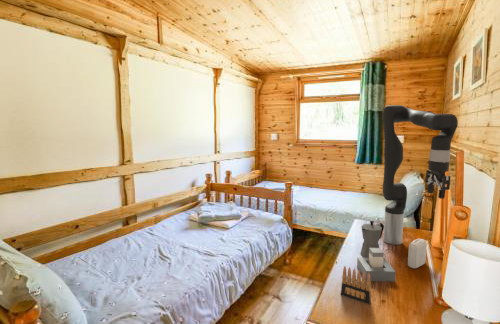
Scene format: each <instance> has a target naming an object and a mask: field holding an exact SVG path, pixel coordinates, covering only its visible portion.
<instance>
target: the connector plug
mask: <svg viewBox="0 0 500 324" xmlns="http://www.w3.org/2000/svg"><path fill="white" fill-rule="evenodd" d="M384 254H385V253H384V251H383V249H381V248H380V247H379V248H369V266H370V267H371V268H383V258H385V257H384V256H385V255H384Z"/></svg>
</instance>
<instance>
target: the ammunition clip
mask: <svg viewBox="0 0 500 324" xmlns="http://www.w3.org/2000/svg"><path fill="white" fill-rule="evenodd" d="M341 279H342V280H341V290H340V296H343V297H346V298H350V299H352V300H356V301H358V302H361V303H364V304H367V305H370V304H371V303H372V302H371V301H372V296H371V294H372V293H371V291H372V289H371V288H372V287H371V286H372V281H370V273H368V275H367V281H366V279H365V272H363V274H361V272H360V270H359V269H358V271H357V272H356V269H355V268H353V270H351V267H350V266H349V267H348V271H347V267H346V265H344V266H343V269H342V276H341Z"/></svg>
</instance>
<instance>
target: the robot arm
mask: <svg viewBox="0 0 500 324" xmlns="http://www.w3.org/2000/svg"><path fill="white" fill-rule="evenodd" d="M405 122H406V123H412V124H413V125H416V126H419V127H423V128H426V129H429V130H432V131H440V132H439V134H438V135H435V136H433V137H432V138H431V145H430V152H429V157H428V158H429V159H428V167H427V169H426V171H425V179H424V182H425V183H426V185H427V193H428V194H434V187H435V184H436V186H438V196H437V197H438V199H439V200H440V199H442V200H443V199H445V198H446V191H448V190H451V189H450V188H451V176H450V175H446V172H448V171H450V170H449V169H450V160H451V146H452V145H451V142H452V139H453V137H454V134H455V133H456V131H457V127H458V122H459V121H458V117H457V116H456V115H455V114H453V113H434V112H432V111H427V110H417V109H416V110H415V109H412V108H409V107H406V106H405V105H399V104H398V105H396V104H394V105H393V104H389V105H385V107H384V108H383V110H382V127H383V137H384V138H383V148H384V149H383V162H384V164H383V165H384V167H383V168H384V169H383V183H382V195H383V198H384V199H385V200H386V201H390V203H388V204H386V205H385V207H384V224H383V225H384V229H383V242H384V243H386V244H388V245H392V246H393V245H394V246H395V245H396V246H399V245H402V243H403V230H404V229H403V228H404V214H405V213H404V212H405V209H406V207H407V205H406V204H407V199H408V197H407V196H408V189H407V186H406V185H405V184H404V183H402V182H397V183H396V182H395V176H396V173H397V172H398V170H399V168H400V166H401V164H402V163H403V160H404V146H403V143H402V141H401V140H400V138H399V137H398V135H397V133H396V131H395V123H405Z"/></svg>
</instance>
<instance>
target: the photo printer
mask: <svg viewBox="0 0 500 324" xmlns="http://www.w3.org/2000/svg"><path fill="white" fill-rule="evenodd" d="M427 245H428V243H427V240H426V239H423V238H416V239H414V240H413V241H411V243H409V245H408V255H407V256H408V257H407V266H408V267H409V268H411V269H417V268H419V267H421V266H424V265H425V264H426V261H427V260H426V257H427V247H428V246H427Z"/></svg>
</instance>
